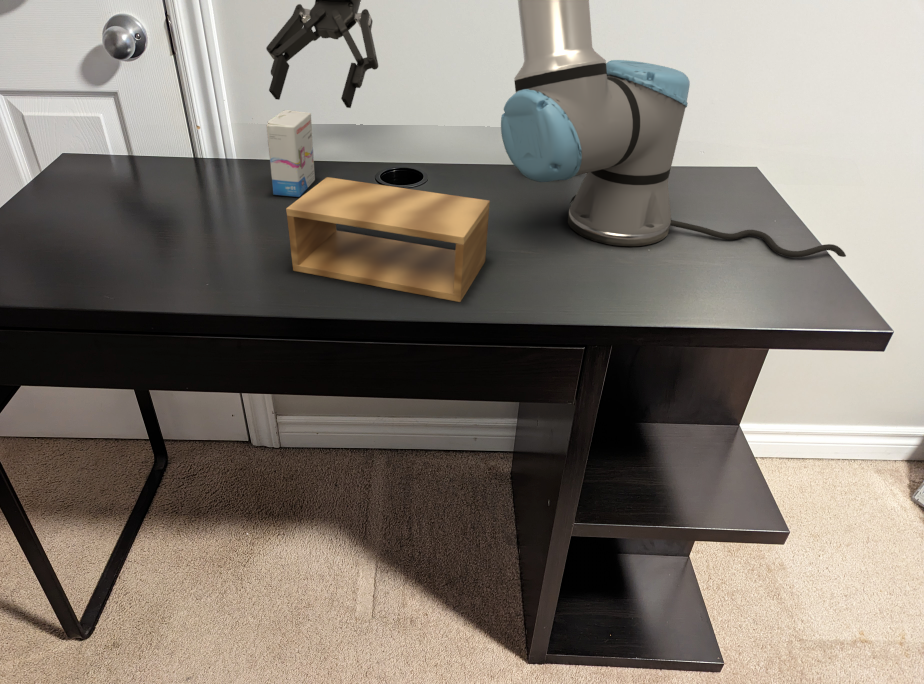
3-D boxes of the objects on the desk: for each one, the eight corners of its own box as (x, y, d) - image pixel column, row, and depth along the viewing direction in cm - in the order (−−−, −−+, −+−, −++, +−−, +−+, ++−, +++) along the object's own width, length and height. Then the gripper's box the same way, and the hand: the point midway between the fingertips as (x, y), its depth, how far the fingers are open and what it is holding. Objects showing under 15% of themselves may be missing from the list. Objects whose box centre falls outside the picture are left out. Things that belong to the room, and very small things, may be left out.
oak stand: (485, 261, 96) (490, 200, 90) (460, 302, 87) (463, 237, 81) (331, 235, 102) (326, 176, 97) (293, 270, 93) (285, 208, 88)
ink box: (301, 198, 114) (293, 125, 106) (272, 195, 114) (263, 123, 107) (316, 180, 120) (311, 110, 113) (289, 177, 121) (282, 108, 114)
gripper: (414, 5, 118) (383, 119, 116) (287, -4, 125) (255, 103, 123) (403, -27, 111) (370, 94, 109) (268, -34, 117) (235, 79, 115)
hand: (309, 99), depth 116 cm, fingers open, 13 cm apart
